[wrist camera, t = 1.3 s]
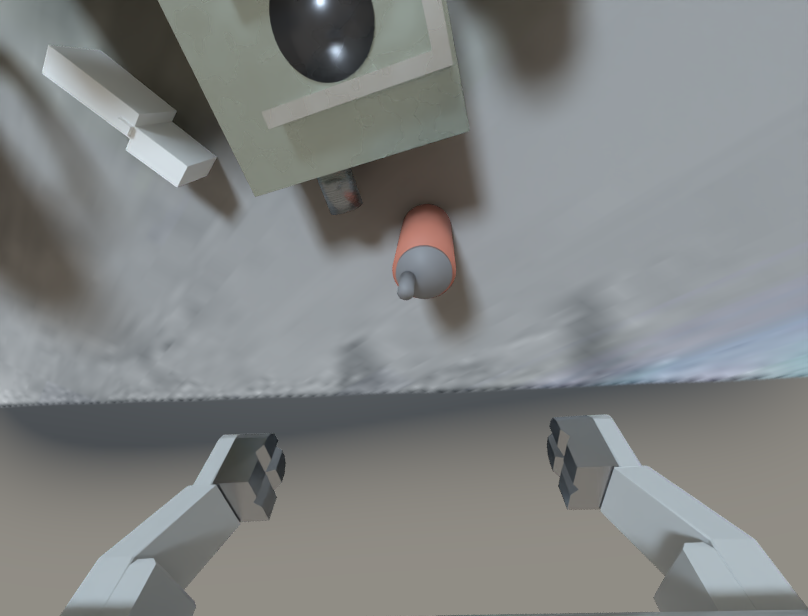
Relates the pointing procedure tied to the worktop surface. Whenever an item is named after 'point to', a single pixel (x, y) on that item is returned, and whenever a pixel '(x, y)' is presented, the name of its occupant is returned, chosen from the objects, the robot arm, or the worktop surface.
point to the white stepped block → (129, 112)
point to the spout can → (424, 254)
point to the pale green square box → (322, 84)
